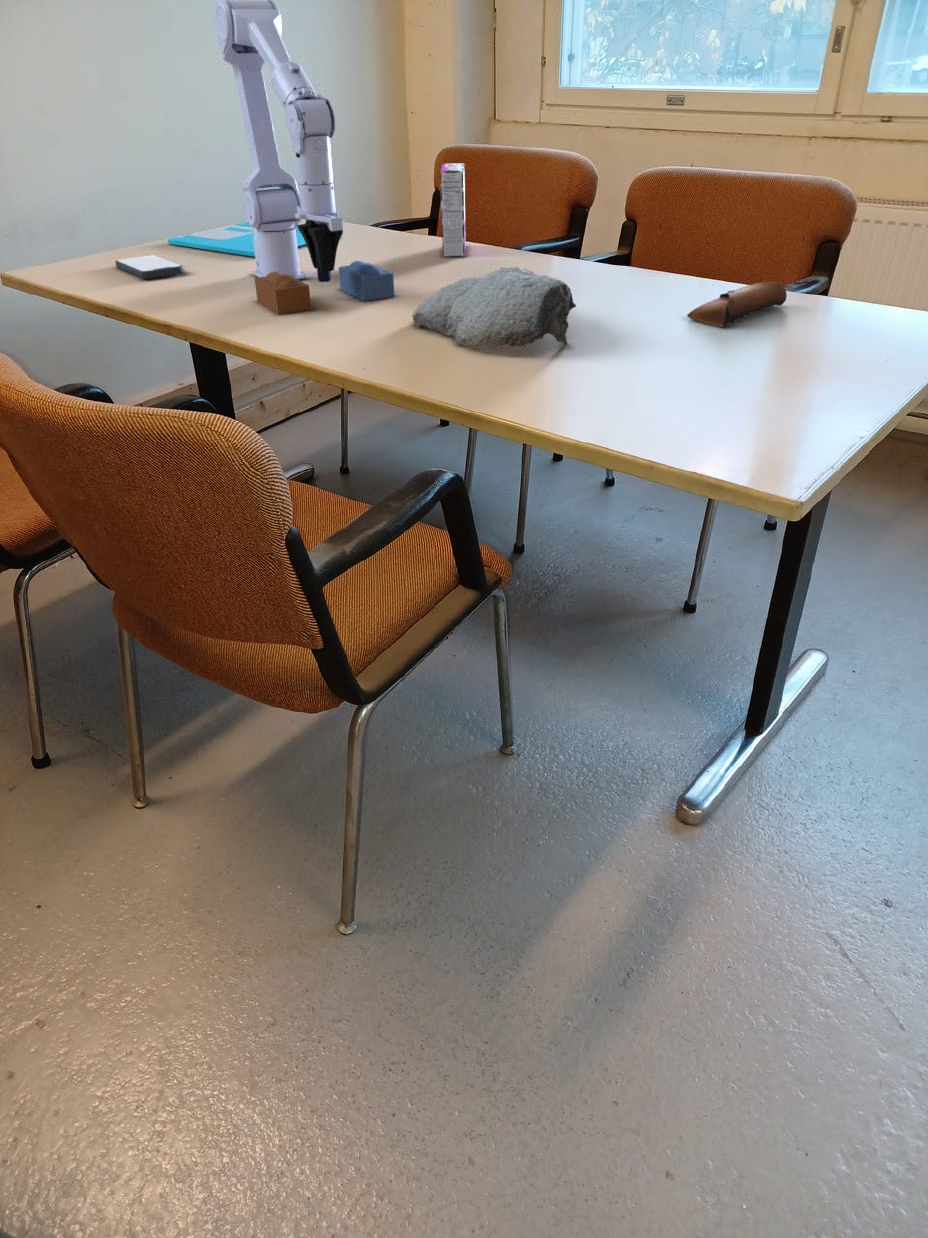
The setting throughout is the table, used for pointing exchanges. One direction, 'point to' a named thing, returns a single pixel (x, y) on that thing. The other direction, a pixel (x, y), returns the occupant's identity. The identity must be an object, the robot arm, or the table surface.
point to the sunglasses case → (739, 303)
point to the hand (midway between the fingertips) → (323, 269)
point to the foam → (499, 309)
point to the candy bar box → (453, 209)
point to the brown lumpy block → (282, 293)
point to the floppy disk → (226, 239)
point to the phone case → (149, 266)
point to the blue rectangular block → (366, 281)
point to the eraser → (322, 275)
